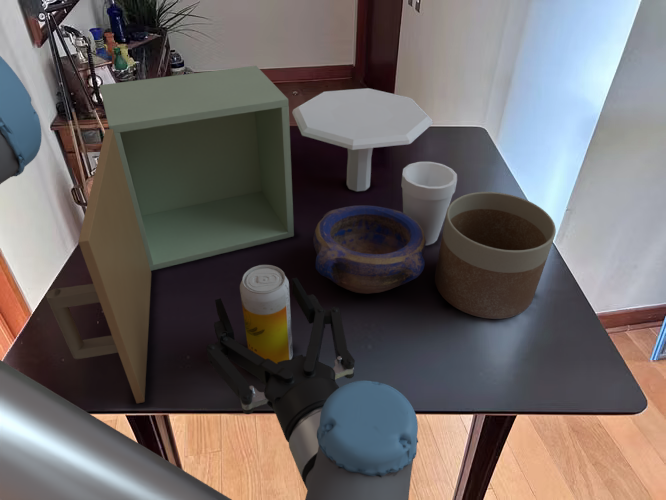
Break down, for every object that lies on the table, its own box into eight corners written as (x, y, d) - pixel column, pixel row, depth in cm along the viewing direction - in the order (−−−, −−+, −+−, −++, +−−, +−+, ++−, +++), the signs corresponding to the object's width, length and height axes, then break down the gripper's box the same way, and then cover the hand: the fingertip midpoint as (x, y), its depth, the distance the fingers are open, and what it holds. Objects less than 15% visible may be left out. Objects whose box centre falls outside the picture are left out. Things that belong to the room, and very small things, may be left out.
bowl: (416, 245, 94) (422, 199, 88) (423, 315, 80) (432, 265, 74) (318, 240, 95) (318, 194, 89) (308, 308, 81) (307, 259, 75)
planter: (532, 332, 77) (558, 261, 69) (427, 309, 81) (439, 239, 73) (532, 268, 89) (554, 200, 81) (440, 250, 93) (452, 184, 85)
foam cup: (399, 250, 93) (406, 188, 85) (392, 221, 100) (398, 161, 92) (451, 250, 93) (463, 188, 85) (440, 221, 101) (451, 161, 93)
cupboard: (294, 236, 96) (288, 99, 80) (147, 271, 87) (108, 125, 71) (266, 192, 108) (256, 65, 92) (135, 219, 100) (99, 84, 83)
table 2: (279, 214, 102) (274, 136, 91) (307, 150, 124) (305, 81, 113) (422, 229, 98) (433, 149, 88) (424, 160, 120) (434, 90, 110)
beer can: (249, 344, 75) (239, 264, 66) (291, 340, 75) (287, 261, 66) (249, 377, 70) (238, 296, 61) (293, 373, 71) (289, 293, 61)
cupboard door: (88, 412, 65) (13, 249, 49) (108, 279, 85) (59, 133, 70) (144, 402, 67) (88, 240, 51) (151, 273, 87) (113, 128, 71)
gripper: (218, 486, 53) (178, 338, 69) (408, 412, 61) (333, 294, 77) (209, 446, 49) (168, 297, 65) (416, 371, 56) (333, 254, 72)
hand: (257, 295), depth 71 cm, fingers open, 10 cm apart
